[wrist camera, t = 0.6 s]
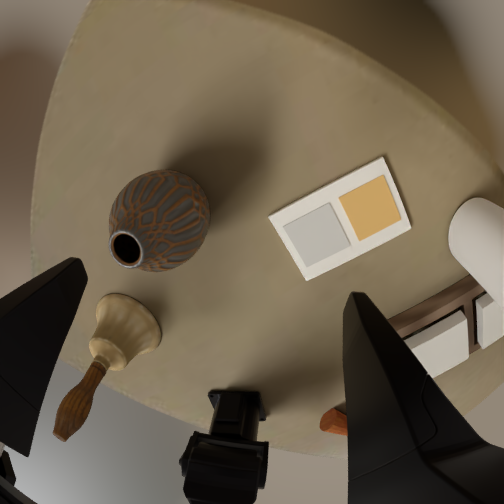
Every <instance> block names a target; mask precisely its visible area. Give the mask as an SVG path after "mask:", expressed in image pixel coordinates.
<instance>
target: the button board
mask: <svg viewBox="0 0 504 504" xmlns="http://www.w3.org/2000/svg"><path fill="white" fill-rule="evenodd" d="M484 291H485V289H484V288H483V287H482V286H481V285H480V284H479V283H478V282H477V280H476V279H475V278H474V277H473V276H472V275H471V274H470V275H468V276H467V277H465V278H464V279H462V280H460V281H459V282H457V283H455V284H454V285H452V286H450V287H449V288H447V289H445V290H443V291H442V292H440V293H438V294H436V295H435V296H433V297H431V298H429V299H427V300H425V301H424V302H422V303H420V304H418V305H416V306H414V307H412V308H410V309H408V310H406V311H404V312H402V313H400V314H398V315H396V316H394V317H392V318H390V319H388V321H389V323H390V324H391V325H392V326H393V328H394V329H395V330H396V331H397V333H398V334H399V335H400V337H401V338H402V337H404V336H407V335H409V334H411V333H413V332H414V331H416V330H418V329H420V328H422V327H424V326H426V325H428V324H430V323H432V322H433V321H435V320H437V319H439V318H441V317H442V316H444V315H446V314H448V313H449V312H451V311H453V310H455V309H456V308H458V311H459V310H461V311H462V313H463V314H464V316H465V317H466V318H467V327H468V347H469V355H470V354H471V353H473V352H474V351H476V350H478V349H479V348H481V346H480V344H479V342H478V336H477V329H476V330H475V331H474V324H473V308H472V299H473V298H474V297H476V296H477V295H479V294H480V293H482V292H484Z"/></svg>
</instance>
